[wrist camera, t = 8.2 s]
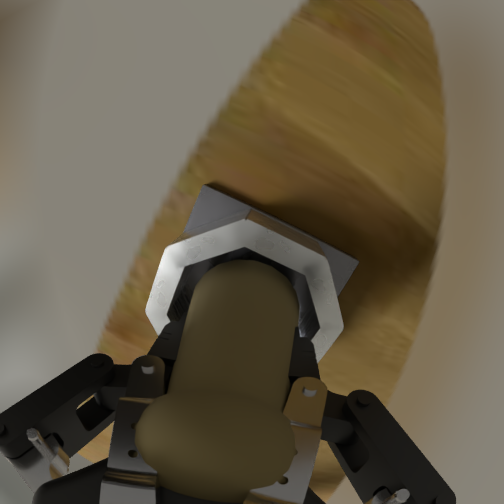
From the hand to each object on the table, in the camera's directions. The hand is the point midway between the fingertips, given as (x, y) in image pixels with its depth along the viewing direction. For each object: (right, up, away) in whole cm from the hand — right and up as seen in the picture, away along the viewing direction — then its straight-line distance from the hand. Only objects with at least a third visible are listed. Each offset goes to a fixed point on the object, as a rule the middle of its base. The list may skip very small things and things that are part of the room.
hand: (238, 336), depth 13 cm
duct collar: (0, +2, +4) cm, 5 cm away
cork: (0, +1, +2) cm, 3 cm away
